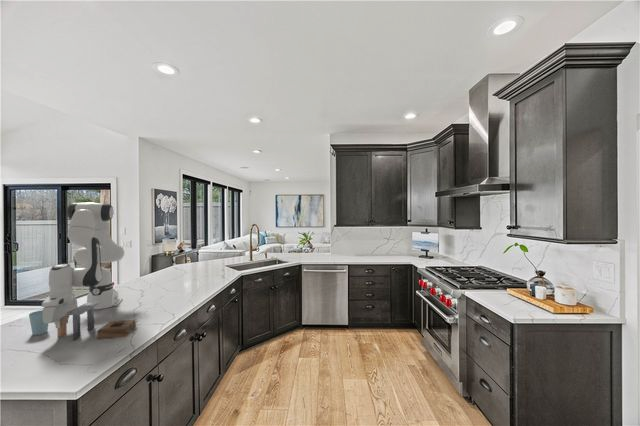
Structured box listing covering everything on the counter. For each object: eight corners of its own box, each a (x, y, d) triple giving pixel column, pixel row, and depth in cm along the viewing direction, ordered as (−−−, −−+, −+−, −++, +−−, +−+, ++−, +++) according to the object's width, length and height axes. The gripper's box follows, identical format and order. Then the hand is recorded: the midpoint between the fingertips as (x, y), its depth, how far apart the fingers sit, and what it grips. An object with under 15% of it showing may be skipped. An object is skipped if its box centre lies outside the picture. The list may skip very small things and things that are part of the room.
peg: (60, 334, 147) (59, 314, 147) (68, 333, 148) (67, 313, 147) (55, 336, 144) (55, 316, 143) (63, 336, 144) (63, 315, 144)
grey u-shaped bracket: (85, 328, 153) (85, 303, 153) (99, 327, 155) (98, 302, 154) (67, 340, 139) (67, 312, 139) (82, 339, 140) (81, 311, 140)
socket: (109, 329, 152) (109, 321, 152) (135, 327, 154) (135, 319, 154) (97, 339, 140) (97, 330, 140) (125, 336, 142) (125, 328, 142)
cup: (30, 337, 143) (30, 316, 143) (28, 333, 148) (27, 312, 148) (51, 332, 149) (51, 311, 149) (48, 328, 154) (48, 308, 154)
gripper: (67, 292, 155) (67, 318, 155) (38, 304, 135) (39, 334, 135) (81, 291, 156) (81, 317, 156) (54, 303, 136) (55, 333, 136)
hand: (62, 325), depth 146 cm, fingers closed on peg, 3 cm apart
